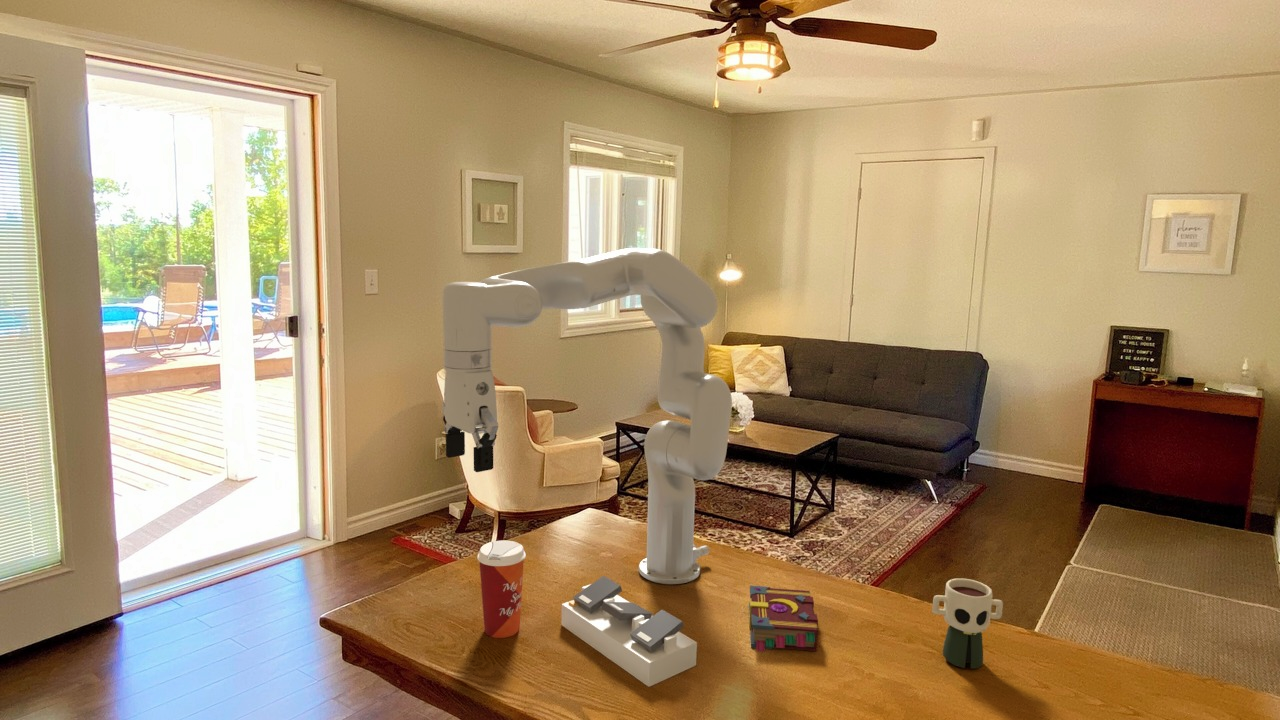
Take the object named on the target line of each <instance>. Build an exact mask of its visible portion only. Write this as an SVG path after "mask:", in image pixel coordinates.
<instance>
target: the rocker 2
mask: <svg viewBox="0 0 1280 720" xmlns="http://www.w3.org/2000/svg"><path fill="white" fill-rule="evenodd" d="M652 616H653V617H651V618H650V619H649V620H647V621H646V622H645V623H644V624H642V625H641V626H640V627H638V628H637V629H636V630H635V631H633V632H632V633H631V634H630V635H631V639H632V640H633V641H634V642H636V643H637V644H639V645H640V646H642V647H643V648H645V649H647V650H648V651H650V652H651V653H653V652H654V651H655V650H656V649H658V648H659V647H660V646H661V645H662V644H664V638H666V637H668V636H671V635H673V634H674V635H675V634H676V633H677V632H678V631H679V632H680V631H681V630H682V629H683V628H685V626H684V623H683V620H681V619H679V618H678V617H676V616H674V615H672V614H671V613H669V612H668V611H665V610H664V609H660V610H659V611H658V612H656V613H655V614H654V615H652Z"/></svg>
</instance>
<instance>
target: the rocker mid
mask: <svg viewBox="0 0 1280 720" xmlns="http://www.w3.org/2000/svg"><path fill="white" fill-rule="evenodd" d="M601 609H603V610H604V611H606V612H607V613H609V614H610V615H612V616H614V617H615V618H617V619H618V620H632V618H634V617H637V616H640V615H643V616H644V620H646V619H650V618H651V617H652V616H653V613H652V612H650V611H649V610H647V609H645V608H643V607H642V606H641V605H639V604H637V603H635V602H631V601H628V602H603V604H602V608H601Z"/></svg>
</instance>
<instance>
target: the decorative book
mask: <svg viewBox="0 0 1280 720" xmlns="http://www.w3.org/2000/svg"><path fill="white" fill-rule="evenodd" d="M749 598H750V600H751V601H749V603H748V613H749V617H748V621H749V622H748V625H749V626H748V627H749V629H750V648H752V649H753V648H754V649H756V652H765V649H766V650H767V649H768V650H773V649H782V650H785V649H786V650H797V651H808V652H809V651H811V652H817V650H818V638H819V637H818V635H819V629H818V628H819V627H818V623H819V618H818V615H817V614H816V613H815V612H814V611H815V610H814V605H815V602H814V597H813V596H811V592H810V590H803V589H802V590H801V589H787V588H773V587H771V586H761V585H749Z"/></svg>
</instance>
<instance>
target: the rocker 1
mask: <svg viewBox="0 0 1280 720" xmlns="http://www.w3.org/2000/svg"><path fill="white" fill-rule="evenodd" d="M590 584H591V585H590ZM590 584H588V585H589V586H588V587H587V588H585V589H584V590H582V589H581V591H579V592H578V593H577V594H575V595H574V596H573V598H572V599H574V602H575V603H576V604H578V605H579V606H581V607H582V608H584V609H585V610H587V611H588V612H590V613H593V612H594V611H596V610H597V609H598V608H600V607H601V606H602V604H603V600H605V599H608V598H611V597H615V596H616V595H619V594H620V593H622V591H623V589H622V586H621V585H620V584H618V583H617V582H615V581H614V580H612V579H610V578H608V577H607V576H605V575H602V576H601V577H600V578H598V579H597V580H596V581H594V582H592V583H590Z"/></svg>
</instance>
